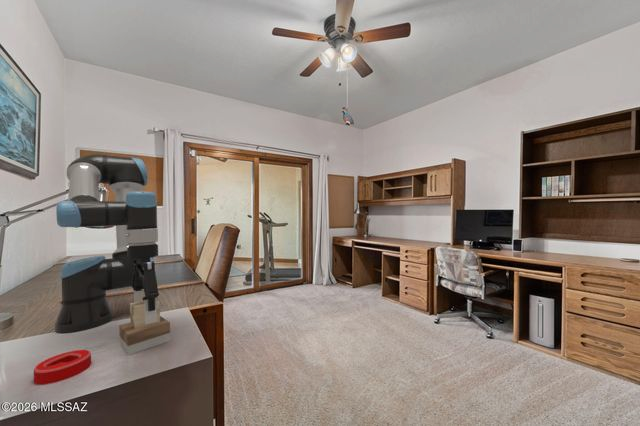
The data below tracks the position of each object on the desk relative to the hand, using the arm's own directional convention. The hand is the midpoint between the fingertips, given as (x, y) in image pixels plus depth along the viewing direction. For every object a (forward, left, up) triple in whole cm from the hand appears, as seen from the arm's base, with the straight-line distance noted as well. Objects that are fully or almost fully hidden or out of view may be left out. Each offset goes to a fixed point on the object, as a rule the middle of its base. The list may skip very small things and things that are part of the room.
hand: (145, 316), depth 76 cm
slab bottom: (+1, 0, -8) cm, 8 cm away
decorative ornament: (+3, -17, -8) cm, 19 cm away
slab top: (+1, 0, -5) cm, 5 cm away
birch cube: (+1, 0, -2) cm, 2 cm away
